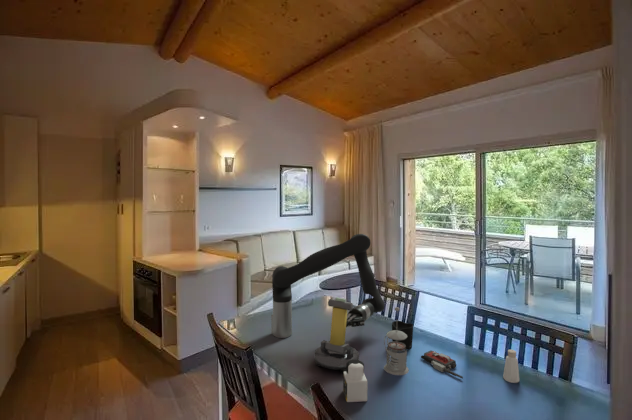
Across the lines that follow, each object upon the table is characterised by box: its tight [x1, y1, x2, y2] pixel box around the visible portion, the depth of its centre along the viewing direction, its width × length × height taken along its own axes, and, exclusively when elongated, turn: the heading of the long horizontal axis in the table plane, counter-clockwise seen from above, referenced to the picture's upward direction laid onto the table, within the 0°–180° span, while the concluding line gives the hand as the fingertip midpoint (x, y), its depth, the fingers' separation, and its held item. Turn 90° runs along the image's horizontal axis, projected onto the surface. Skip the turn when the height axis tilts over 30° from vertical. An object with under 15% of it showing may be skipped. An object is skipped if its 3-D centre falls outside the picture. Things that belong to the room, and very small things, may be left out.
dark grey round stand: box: [314, 339, 360, 375], centre depth 144 cm, size 18×18×8 cm
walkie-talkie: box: [420, 350, 464, 379], centre depth 142 cm, size 9×4×20 cm
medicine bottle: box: [342, 359, 368, 403], centre depth 122 cm, size 7×7×12 cm
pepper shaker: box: [502, 349, 520, 384], centre depth 133 cm, size 5×5×11 cm
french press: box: [383, 306, 410, 376], centre depth 141 cm, size 10×12×25 cm
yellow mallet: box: [325, 297, 354, 355], centre depth 145 cm, size 10×6×22 cm, turn 58°
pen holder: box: [391, 320, 414, 351], centre depth 161 cm, size 9×9×10 cm
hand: (342, 325), depth 147 cm, fingers closed
